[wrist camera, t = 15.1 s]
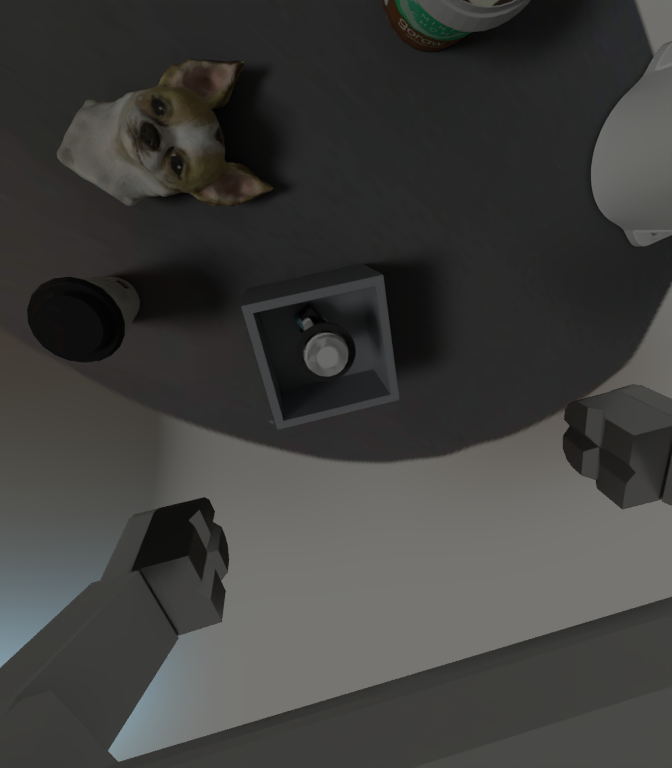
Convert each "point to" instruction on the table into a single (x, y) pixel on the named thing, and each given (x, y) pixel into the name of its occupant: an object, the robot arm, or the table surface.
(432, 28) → the food container
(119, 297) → the coffee cup
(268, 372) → the bin
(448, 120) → the table surface
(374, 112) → the table surface
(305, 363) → the push button
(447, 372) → the table surface
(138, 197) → the ceramic sculpture
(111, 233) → the table surface
